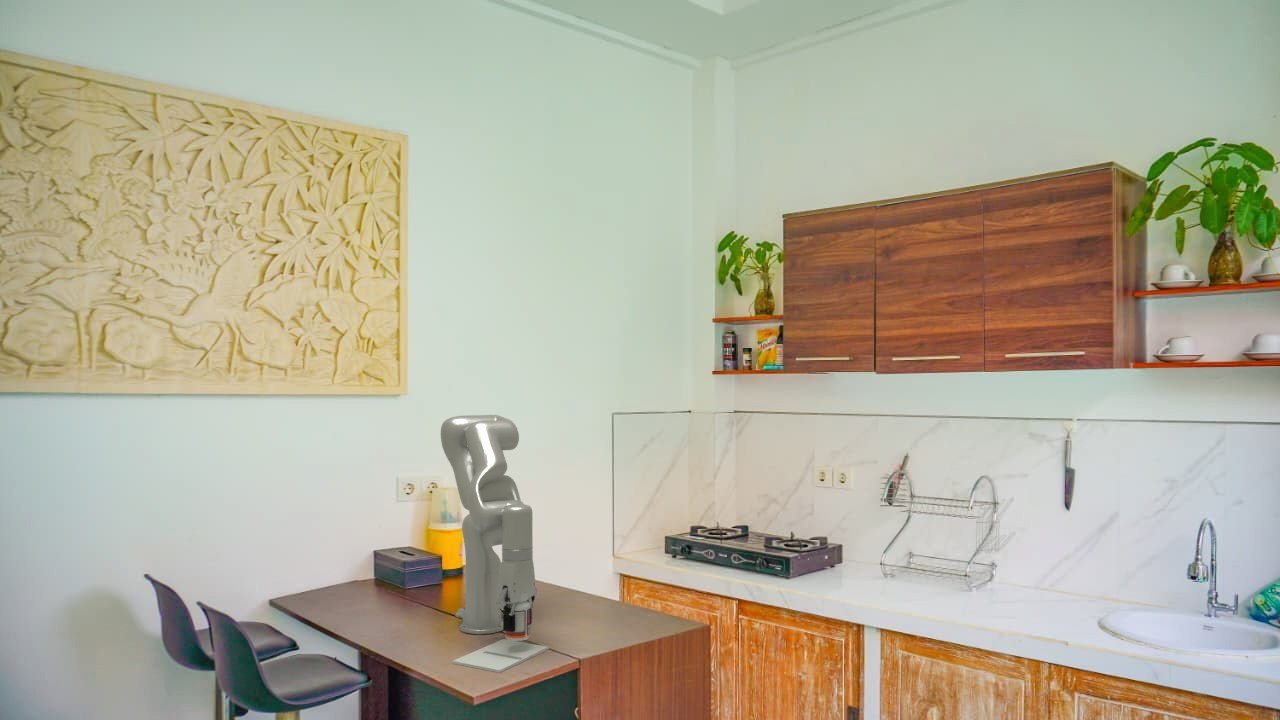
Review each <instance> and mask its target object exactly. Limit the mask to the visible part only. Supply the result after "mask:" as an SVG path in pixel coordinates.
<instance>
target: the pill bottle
mask: <svg viewBox="0 0 1280 720" xmlns="http://www.w3.org/2000/svg"><path fill="white" fill-rule="evenodd" d="M526 600H528V592H527V593H525V594H522V595H521V599H520V601H519V602H518V603H516V604H515V609H514V613H513V615H515V631H514V632H510V631H504V634H505V636H504V637H505V639H507V640H511V641H518V642H522V641H525V640H528V639H529V638H530V637H531V625H530V604H529V602H527V601H526ZM508 602H510V600H509V599H508ZM510 606H511V605H508V607H509V609H510Z"/></svg>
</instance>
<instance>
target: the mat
mask: <svg viewBox="0 0 1280 720" xmlns="http://www.w3.org/2000/svg"><path fill="white" fill-rule="evenodd" d="M549 649H550V647H549V646H545V645H539V644H534V643H528V642H522V641H511V640H508V639H506V638H503V639H500V640H497V641H496V642H494V643H492V644H489V645H487V646H484V647H482V648H479V649H477V650H475V651H473V652H470V653H467V654H466V655H465V654H464V655H463V656H461V657H458V658H457V659H454V660H452V662H451V663H452V665H453V664H454V665H459V666H463V667H468V668H474V669H479V670H484V671H488V672H493V673H494V672H495V673H498V674H500V673H502V672H504V671H506V670H508V669H511V668H513V667H514V666H517V665H519V664H521V663H524V662H525V661H527V660H529V659H531V658H534V657H535V656H539V655H540V654H543V653H544V652H547V651H548V650H549Z"/></svg>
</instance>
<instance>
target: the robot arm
mask: <svg viewBox="0 0 1280 720" xmlns="http://www.w3.org/2000/svg"><path fill="white" fill-rule="evenodd" d="M518 430H519V429H518V427H517V426H516V424H515V423H514V421H513V420H511V419H509V418H506V417H503V416H501V415H497V414H482V415H481V414H480V415H479V414H478V415H477V414H476V415H475V414H473V415H472V414H471V415H458V416H457V415H456V416H452V417H449V418H447V419H445V420H444V421H443V423H442V424H441V427H440V442H441V447H442V449H443V452H444V454H445V456H446V459H447V461H448V462H449V463H450V466H451V469H452V470H453V474H454V478H455V481H456V482H455V483H456V487H457V491H458V495H459V498H460V503H461V504H462V507H463V508H464V509H465V510H466V511H468V512H469V514H467V515H466V516H465V517H464V518H463V520H462V523H461V531H462V537H463V538H462V539H463V544H464V551H465V552H464V553H465V556H464V557H465V608H461V607H460V608H458V610H457V612H456V613H455V617H456V618H460V619H462V622H461V623H459V629H460V631H461V632H464V633H467V634H472V635H488V634H493V633H494V634H495V633H498V632H501V631H504V632H505V631H510V632H514V631H515V615H513V613H514V609H515V604H516V603H518V602H519V601H520V599H521V595H522V594H525V593H527V592H528V600H526V601H527V602H529V604H530V626H531V625H532V624H533V623H532V622H533V620H532V619H533V615H532V613H533V612H532V610H533V607H534V604H533V603H534V601H535V598H536V595H537V593H538V588H537V587H536V577H535V567H534V559H533V555H534V554H533V552H534V551H533V548H534V546H533V509H532V507H531V506H530V505H529V504H525V503H524V502H523V501H522V499H521V497H520V493H519V490H518V486H517V484H516V482H515V480H514V479H513V478H512V477H511V476H509V475H506V472H507V470H508V464H507V463H508V462H507V460H506V457H505V454H504V451H512V450H515V449H516V448H517V447H518V445H519V442H520V435H519V431H518ZM499 545H501V558H500V557H499V555H498V554H497V553H496V552H495V550H494V549H493V547H495V546H499ZM508 599H509V600H510V602H509V601H508ZM508 605H511V606H510V609H509V607H508ZM502 615H503V616H502ZM502 617H503V618H502Z"/></svg>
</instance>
